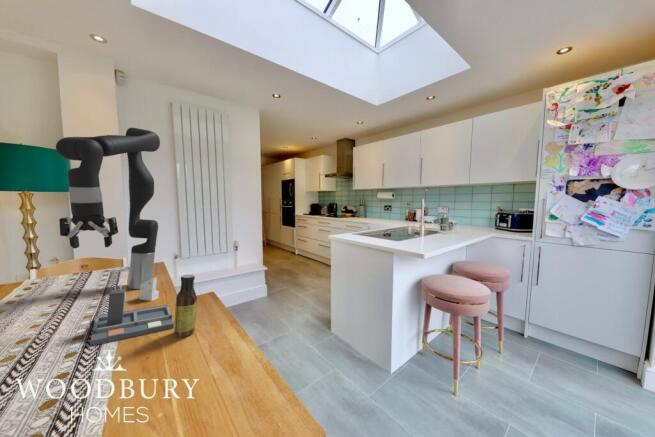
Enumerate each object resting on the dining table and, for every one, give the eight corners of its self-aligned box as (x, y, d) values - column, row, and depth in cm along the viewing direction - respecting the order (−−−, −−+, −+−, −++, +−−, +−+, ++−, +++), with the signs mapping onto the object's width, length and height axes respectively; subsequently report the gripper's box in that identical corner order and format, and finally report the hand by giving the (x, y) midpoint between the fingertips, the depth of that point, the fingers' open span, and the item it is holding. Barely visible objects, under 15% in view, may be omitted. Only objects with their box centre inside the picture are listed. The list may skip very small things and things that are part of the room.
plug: (109, 321, 78) (111, 285, 78) (123, 319, 81) (125, 284, 80) (106, 326, 76) (109, 289, 75) (121, 324, 78) (124, 287, 77)
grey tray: (95, 320, 81) (95, 312, 81) (165, 308, 95) (166, 301, 95) (90, 346, 68) (90, 336, 68) (173, 328, 82) (174, 320, 82)
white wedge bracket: (161, 296, 100) (153, 278, 100) (141, 305, 101) (134, 286, 101) (167, 293, 103) (160, 276, 104) (149, 302, 104) (141, 284, 104)
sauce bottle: (198, 331, 81) (203, 276, 80) (181, 340, 75) (186, 280, 75) (186, 326, 84) (191, 272, 83) (168, 333, 78) (173, 275, 77)
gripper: (118, 199, 83) (123, 243, 86) (66, 198, 78) (72, 244, 81) (107, 202, 76) (112, 249, 79) (49, 201, 71) (56, 251, 74)
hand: (92, 247), depth 80 cm, fingers open, 8 cm apart
